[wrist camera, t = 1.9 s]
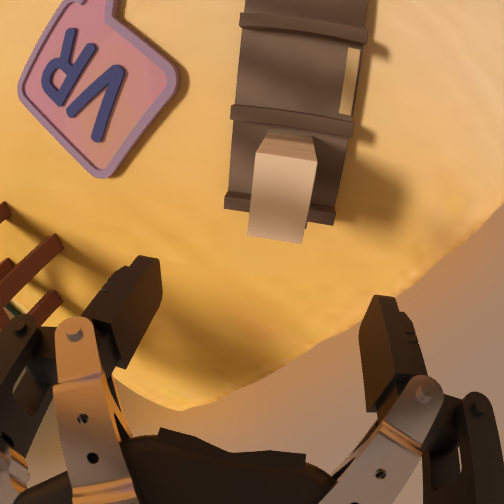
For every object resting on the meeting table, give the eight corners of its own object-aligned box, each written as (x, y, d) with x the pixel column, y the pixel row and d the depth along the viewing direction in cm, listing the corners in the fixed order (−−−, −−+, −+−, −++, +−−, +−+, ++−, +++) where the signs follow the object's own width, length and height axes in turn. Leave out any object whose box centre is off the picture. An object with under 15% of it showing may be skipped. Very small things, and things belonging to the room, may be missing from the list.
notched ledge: (254, -54, 16) (250, -65, 14) (367, -39, 15) (373, -48, 13) (229, 198, 30) (223, 208, 28) (330, 214, 29) (333, 225, 27)
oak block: (269, 128, 25) (255, 152, 17) (313, 135, 24) (319, 162, 17) (262, 188, 28) (247, 235, 20) (303, 194, 27) (303, 244, 20)
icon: (226, 37, 21) (103, 186, 30) (230, 39, 22) (110, 182, 31) (100, -48, 15) (13, 93, 24) (107, -45, 16) (21, 91, 26)
